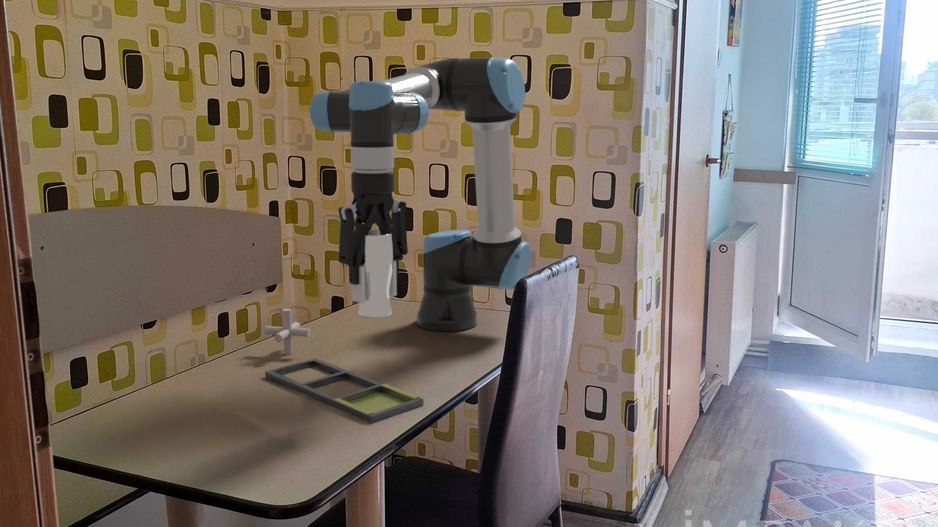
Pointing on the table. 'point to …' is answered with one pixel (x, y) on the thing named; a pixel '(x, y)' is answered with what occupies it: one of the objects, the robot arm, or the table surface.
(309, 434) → the table surface
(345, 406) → the grey flat frame
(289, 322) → the pipe connector
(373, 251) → the beer glass
